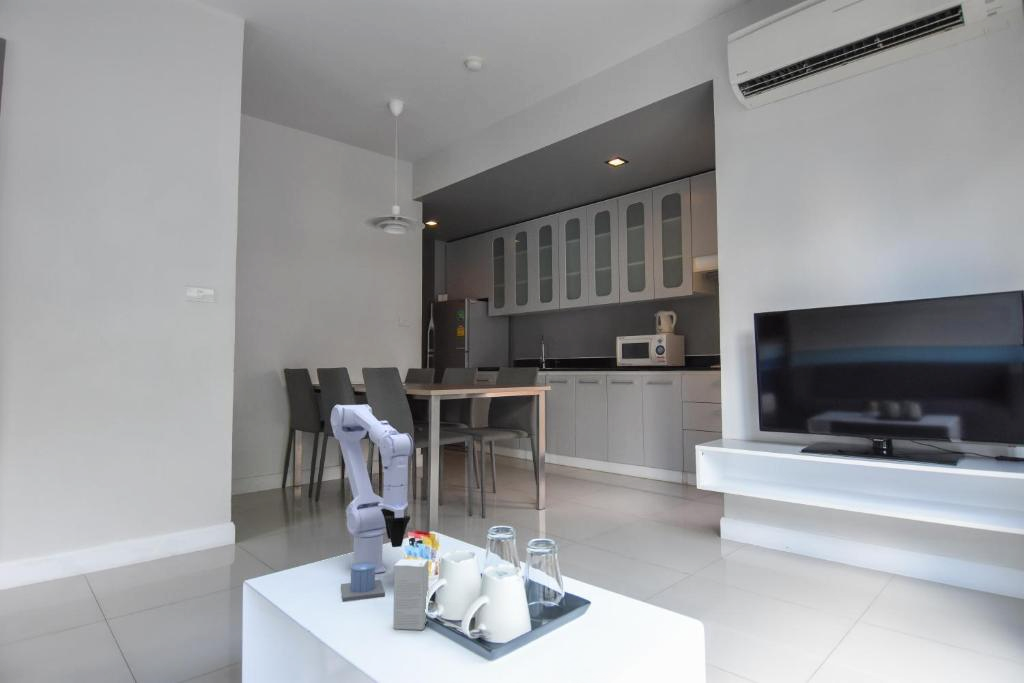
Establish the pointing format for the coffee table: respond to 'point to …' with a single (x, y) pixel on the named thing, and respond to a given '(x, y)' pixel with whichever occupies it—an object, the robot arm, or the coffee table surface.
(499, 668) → the coffee table surface
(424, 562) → the skincare box
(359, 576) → the cap
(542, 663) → the coffee table surface
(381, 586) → the plate
